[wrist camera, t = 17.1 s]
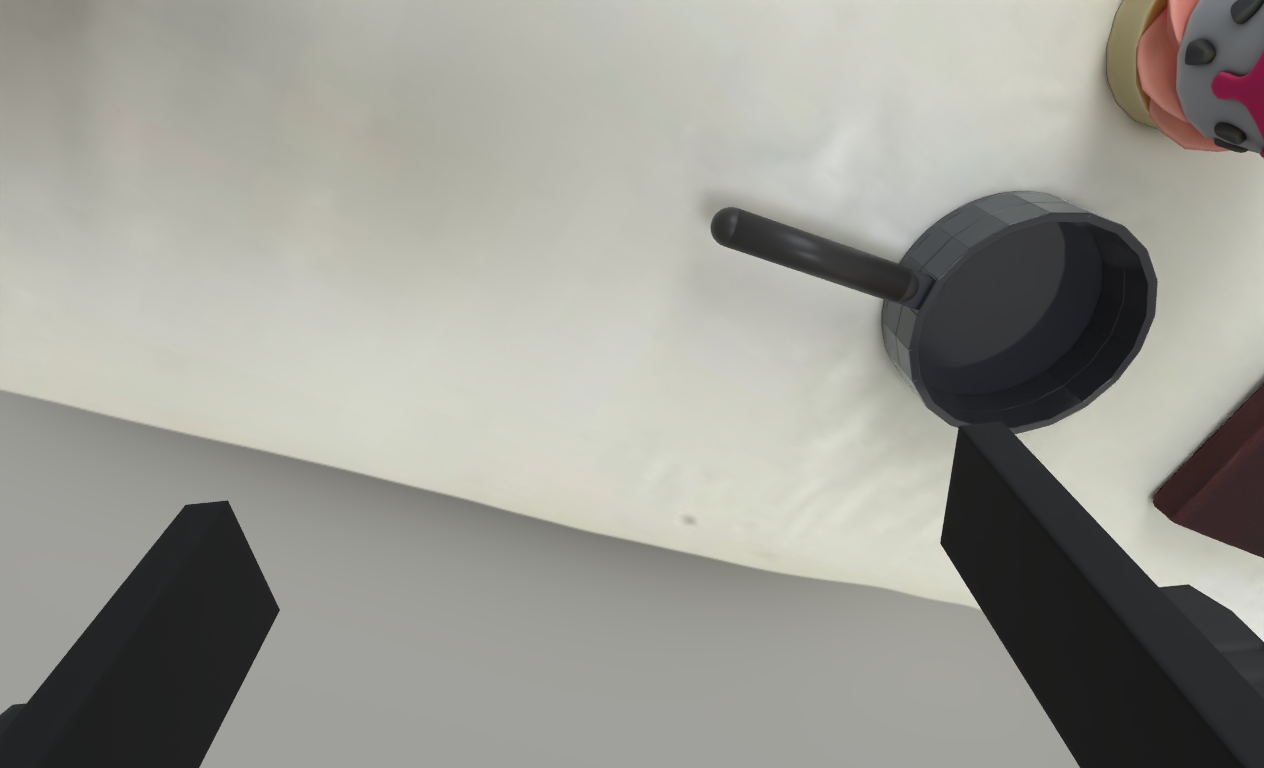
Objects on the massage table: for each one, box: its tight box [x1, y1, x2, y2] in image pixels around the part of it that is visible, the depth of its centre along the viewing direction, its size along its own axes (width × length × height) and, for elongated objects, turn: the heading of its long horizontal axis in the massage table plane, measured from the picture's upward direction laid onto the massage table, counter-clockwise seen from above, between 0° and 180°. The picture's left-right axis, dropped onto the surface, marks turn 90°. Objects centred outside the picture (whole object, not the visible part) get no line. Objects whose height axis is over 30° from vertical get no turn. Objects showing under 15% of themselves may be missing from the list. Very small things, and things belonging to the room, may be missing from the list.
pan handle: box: [711, 207, 946, 314], centre depth 37 cm, size 13×2×2 cm, turn 71°
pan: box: [882, 191, 1158, 434], centre depth 41 cm, size 13×13×4 cm
